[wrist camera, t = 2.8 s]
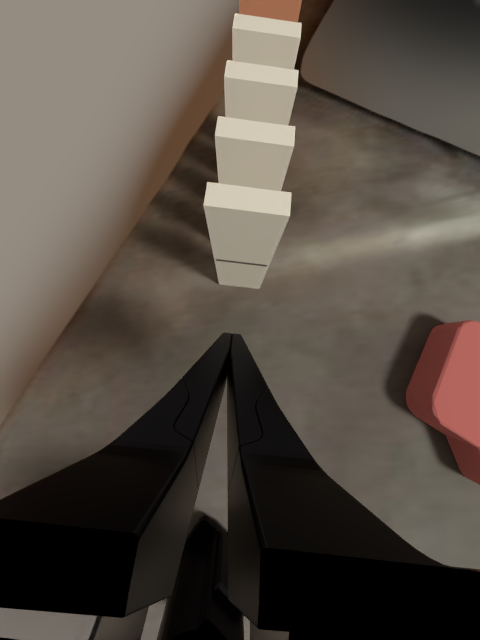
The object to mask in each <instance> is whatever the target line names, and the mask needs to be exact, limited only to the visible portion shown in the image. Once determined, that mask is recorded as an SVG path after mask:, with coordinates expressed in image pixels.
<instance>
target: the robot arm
mask: <svg viewBox="0 0 480 640" xmlns="http://www.w3.org/2000/svg"><path fill="white" fill-rule="evenodd" d="M227 374H228V375H227ZM226 380H227V450H228V535H227V534H226V533H225V532H224V531H221V530H220V529H219V528H218V527H217V526H216V524H215V523H214V522H213V521H212V520H211V519H210V518H209V517H207V516H203V517H202V518H201V519H200V520H199V522H198V523H197V524H196V526H195V527H194V528H193V530H192V531H191V532H190V534H189V535H188V536H187V533H188V529H189V525H190V521H191V518H192V514H193V510H194V506H195V502H196V498H197V494H198V490H199V486H200V482H201V478H202V474H203V470H204V466H205V462H206V459H207V455H208V451H209V447H210V443H211V439H212V435H213V431H214V427H215V423H216V419H217V415H218V411H219V407H220V404H221V400H222V396H223V392H224V388H225V384H226ZM203 523H206V525H203ZM186 537H187V538H186ZM165 598H168V599H167V602H166V606H165V610H164V614H163V618H162V621H161V625H160V629H159V633H158V636H157V640H244V626H243V617H244V616H245V617H247V618H248V619H249V620H250V640H480V570H478V569H471V568H460V567H450V566H447V565H443V564H441V563H439V562H437V561H435V560H433V559H431V558H429V557H428V556H426V555H424V554H423V553H421V552H420V551H418V550H417V549H415V548H414V547H413V546H411V545H410V544H409V543H408V542H406V541H405V540H404V539H402V538H401V537H400V536H399V535H398V534H396V533H395V532H394V531H393V530H392V529H391V528H389V527H388V526H387V525H386V524H385V523H383V522H382V521H381V520H380V519H379V518H378V517H376V516H375V515H374V514H373V513H372V512H370V511H369V510H368V509H367V508H366V507H365V506H363V505H362V504H361V503H360V502H359V501H357V500H356V499H355V498H354V497H353V496H352V495H350V494H349V493H348V492H347V491H346V490H344V489H343V488H342V487H341V486H340V485H339V484H337V483H336V482H335V481H334V480H333V479H331V478H330V477H329V476H328V475H327V474H326V473H325V472H324V471H323V470H322V468H321V467H320V466H319V465H318V464H317V462H316V461H315V460H314V459H313V457H312V456H311V454H310V453H309V451H308V450H307V448H306V447H305V445H304V444H303V442H302V441H301V439H300V438H299V437H298V435H297V434H296V432H295V431H294V429H293V428H292V426H291V425H290V423H289V422H288V420H287V419H286V417H285V415H284V414H283V412H282V411H281V409H280V408H279V406H278V404H277V402H276V401H275V399H274V397H273V395H272V393H271V391H270V389H269V388H268V386H267V384H266V382H265V380H264V378H263V376H262V374H261V372H260V370H259V368H258V367H257V365H256V363H255V361H254V359H253V357H252V355H251V353H250V351H249V349H248V347H247V345H246V343H245V342H244V340H243V338H242V336H241V335H240V334H231V333H223V334H222V335H221V336H220V337H219V338H218V339H217V340H216V341H215V342H214V343H213V345H212V346H211V347H210V348H209V349H208V350H207V351H206V352H205V353H204V354H203V355H202V357H201V358H200V359H199V360H198V361H197V362H196V363H195V364H194V365H193V366H192V367H191V369H190V370H189V371H188V372H187V373H186V374H185V375H184V376H183V377H182V379H180V380H179V381H178V383H177V384H176V385H175V386H174V387H173V388H172V389H171V390H170V391H169V392H168V393H167V394H166V395H165V396H164V397H163V398H162V399H161V400H160V401H159V402H157V403H156V404H155V405H154V406H153V407H152V408H151V409H150V410H149V411H147V412H146V413H145V414H144V415H143V416H142V417H141V418H139V419H138V420H137V421H136V422H135V423H134V424H133V425H132V426H130V427H129V428H128V429H127V430H126V431H125V432H124V433H122V434H121V435H120V436H119V437H118V438H117V439H115V440H114V441H113V442H111V443H110V444H109V445H107V446H106V447H104V448H103V449H101V450H100V451H98V452H96V453H95V454H93V455H91V456H89V457H87V458H85V459H83V460H81V461H79V462H77V463H74V464H72V465H70V466H68V467H66V468H64V469H62V470H60V471H58V472H56V473H54V474H52V475H50V476H48V477H46V478H44V479H42V480H40V481H37V482H35V483H33V484H31V485H29V486H27V487H25V488H23V489H21V490H19V491H17V492H15V493H13V494H11V495H9V496H7V497H5V498H3V499H0V640H141V635H142V631H143V627H144V623H145V619H146V615H147V611H148V607H149V606H150V605H152V604H154V603H156V602H158V601H161V600H163V599H165Z"/></svg>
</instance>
